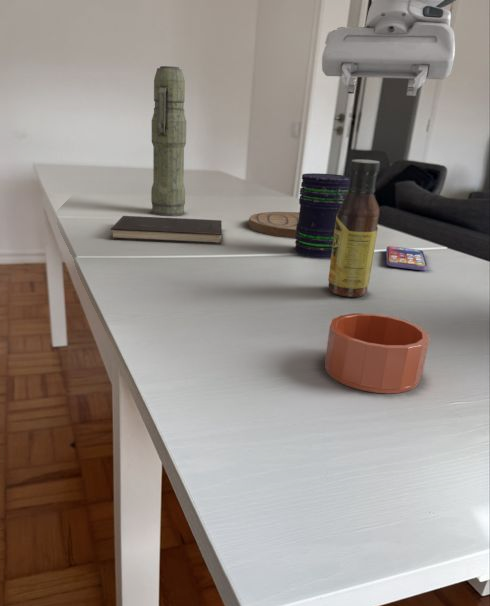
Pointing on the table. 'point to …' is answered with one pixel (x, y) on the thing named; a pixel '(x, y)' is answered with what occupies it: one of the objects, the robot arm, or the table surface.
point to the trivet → (275, 223)
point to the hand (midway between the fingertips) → (380, 91)
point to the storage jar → (319, 213)
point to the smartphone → (405, 258)
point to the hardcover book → (168, 230)
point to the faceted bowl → (376, 352)
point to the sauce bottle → (355, 232)
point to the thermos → (168, 142)
